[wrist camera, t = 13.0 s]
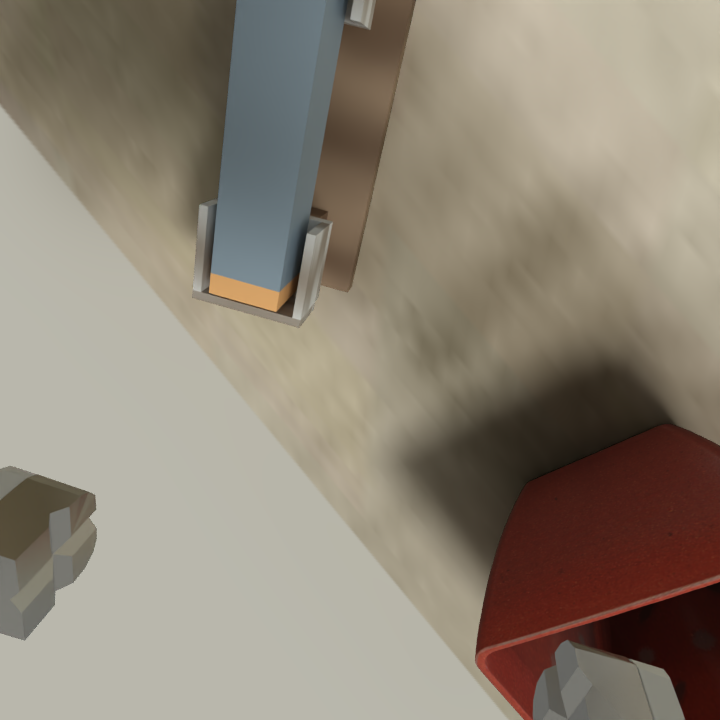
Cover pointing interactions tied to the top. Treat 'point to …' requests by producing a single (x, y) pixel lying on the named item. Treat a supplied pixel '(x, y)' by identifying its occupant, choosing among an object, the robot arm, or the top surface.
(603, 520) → the plant pot
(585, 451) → the top surface
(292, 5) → the rail
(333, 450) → the top surface
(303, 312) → the stand
